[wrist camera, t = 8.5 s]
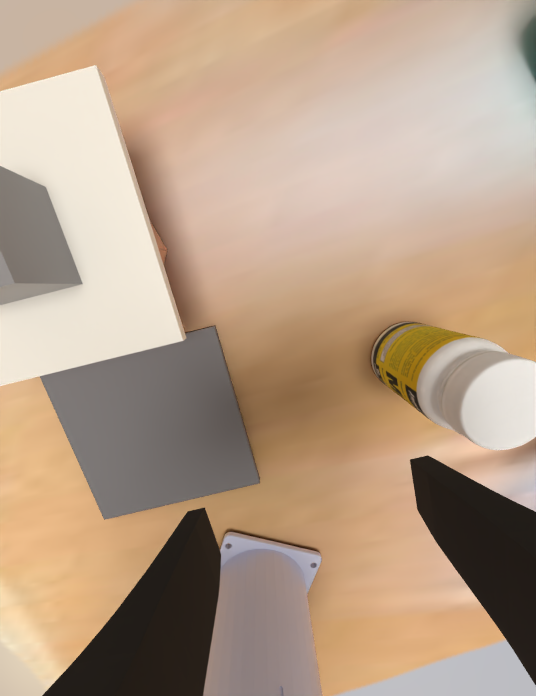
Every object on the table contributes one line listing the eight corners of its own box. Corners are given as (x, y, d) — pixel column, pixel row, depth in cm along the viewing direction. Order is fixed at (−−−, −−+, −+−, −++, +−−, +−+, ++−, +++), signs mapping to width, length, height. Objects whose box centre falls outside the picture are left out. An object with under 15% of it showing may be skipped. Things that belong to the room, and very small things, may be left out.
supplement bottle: (355, 364, 19) (426, 422, 11) (398, 307, 19) (507, 324, 10) (408, 399, 20) (511, 477, 12) (451, 345, 19) (594, 389, 11)
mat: (259, 478, 21) (259, 483, 21) (107, 514, 21) (104, 519, 21) (215, 325, 18) (213, 326, 18) (43, 368, 19) (37, 370, 18)
